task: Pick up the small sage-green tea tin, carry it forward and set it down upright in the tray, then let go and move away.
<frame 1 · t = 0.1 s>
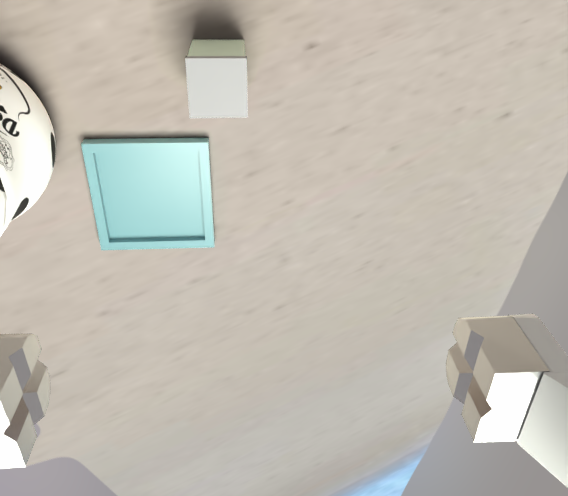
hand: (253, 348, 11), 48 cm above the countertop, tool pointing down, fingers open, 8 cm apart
tea tin: (219, 65, 54), on the countertop
tray: (153, 193, 61), on the countertop
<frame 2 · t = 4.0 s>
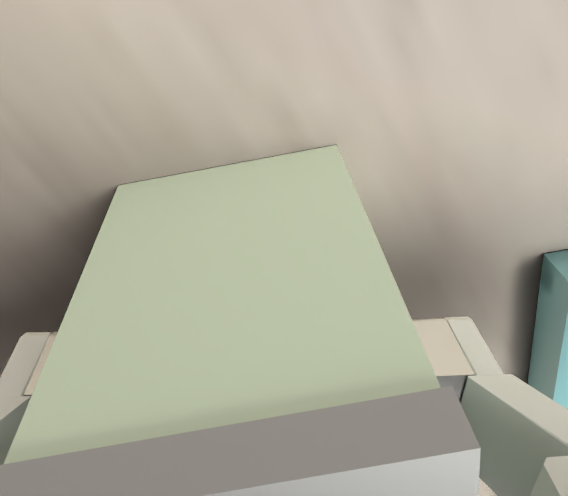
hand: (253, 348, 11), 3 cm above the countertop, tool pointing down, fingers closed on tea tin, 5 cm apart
tea tin: (249, 256, 13), on the countertop, touching gripper
when the fingers open (5 cm above the countertop, at t = 10.3 s): tea tin drops 1 cm, resting on tray.
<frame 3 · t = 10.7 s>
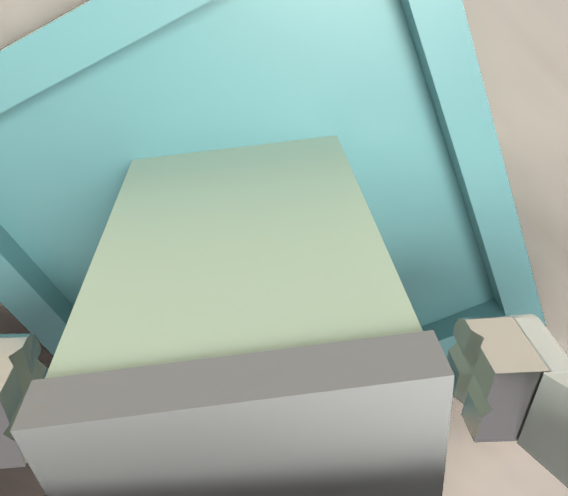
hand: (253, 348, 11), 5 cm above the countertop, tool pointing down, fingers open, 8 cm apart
tea tin: (248, 234, 15), point 1 cm above the countertop, touching tray
tray: (249, 221, 15), on the countertop
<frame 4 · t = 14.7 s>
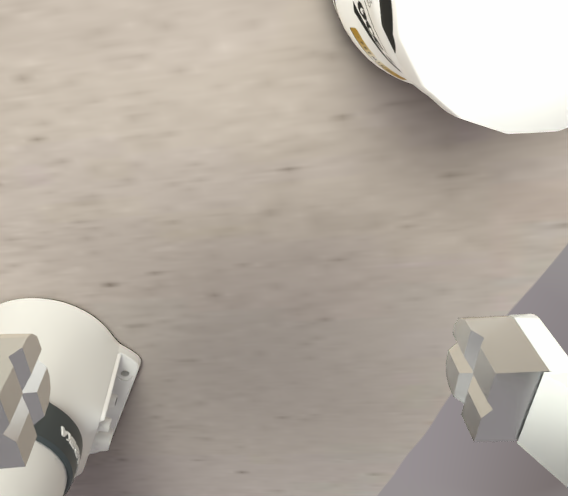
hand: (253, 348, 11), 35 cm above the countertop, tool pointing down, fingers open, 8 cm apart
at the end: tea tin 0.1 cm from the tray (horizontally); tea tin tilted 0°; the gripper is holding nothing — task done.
